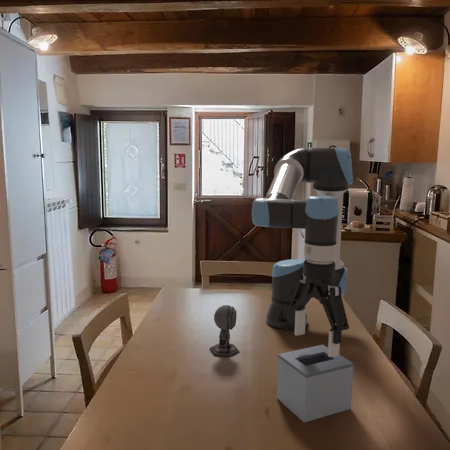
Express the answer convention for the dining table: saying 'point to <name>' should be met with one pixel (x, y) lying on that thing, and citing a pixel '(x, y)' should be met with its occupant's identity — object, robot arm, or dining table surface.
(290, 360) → the coin box
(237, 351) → the figurine
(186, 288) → the dining table surface
